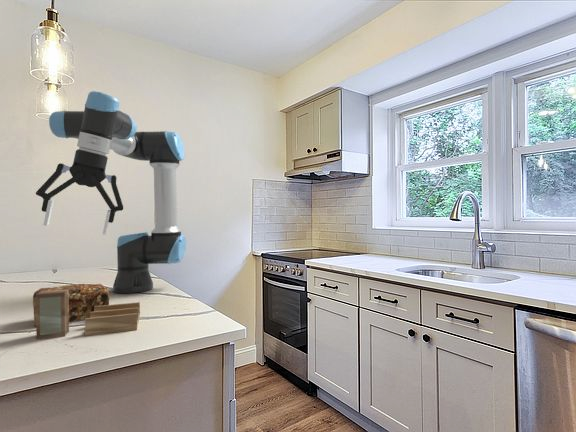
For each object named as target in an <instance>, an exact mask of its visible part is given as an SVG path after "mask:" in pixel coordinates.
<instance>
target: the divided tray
mask: <svg viewBox="0 0 576 432" xmlns="http://www.w3.org/2000/svg"><path fill="white" fill-rule="evenodd" d="M140 305H141V303H140V301H138V302H129V303H128V302H127V303H117V304H116V303H115V304H109V305H103V306H95V307H94V312H90V318H86V319H85V320H84V326H85V327H84V336H85V337H87V336H88V337H89V336H94V335H95V336H96V335H103V334H104V335H105V334H111V333H112V334H114V333H122V332H130V331H138V326H139V321H140V316H141V311H140V310H141V309H140V308H141V306H140Z"/></svg>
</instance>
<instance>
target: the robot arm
mask: <svg viewBox="0 0 576 432" xmlns="http://www.w3.org/2000/svg"><path fill="white" fill-rule="evenodd" d="M48 121H49V122H48V123H49V124H48V125H49V128H50V131H51V133H52V134H53V135H54V136H55V137H57V138H62V139H69V138H70V139H77V142H76V143H77V144H76V146H77V148H78V149H76V150H75V152H74V158H73V162H72V164H71V166H69V165H67V164H64V163H63V162H62V163H57V166H56V169H55V171H54V172H53V173H52V174H51V175H50V177H49V178H48V179H47V180H46V181H45V182H44V183H43V184H42V185H41V186H40V188H38V190H36V192H35V195H36V196H38V197H41V198H42V200H43V201H42V206H41V212H44V213H45V215H44V221H43V226H46V227H47V226H48V225H50V221H51V216H52V211H53V207H54V203H55V200H54V199H52V198H54V196H56V195H58V194H59V193H61V192H62V191H64V190H65V189H67V188H68V187H70V186H72V185H73V184H75V183H76V184H77V185H78V186H86V187H88V188H96V189H97V191H98V192H99V194H100V195H101V197H102V199H103V200H104V202H105V203H106V205H107V206H108V208H109V209H108V210H107V211H106V216H105V221H104V226H103V230H102V235H106V234H107V230H108V225H109V224H110V223H111V224H112V223H114V220H115V216H116V215H115V214H116V213H117V212H119V211H120V212H121V211H123V210H124V204H123V201H122V198H121V195H120V192H119V188H118V185H117V178H118V177H117V175H115V174H113V175H112V174H106V168H107V164H108V163H107V162H108V158H109V157H108V156H107V155H108V154H109V153H110V151H111V150H112V151H113V152H114V153H115V154H117V155H118V156H122V157H125V158H128V159H133V160H136V161H148V162H149V166H150V167H151V168H152V169H153V184H154V185H153V192H154V195H153V197H154V202H153V203H154V228H153V229H152V230H151V234H149V232H147V231H146V232H138V233H131V234H125V235H120V236H119V237H118V238H117V243H116V250H117V253H116V254H117V255H116V256H117V257H116V258H117V273H116V276H115V279H114V282H113V285H112V292H113V293H116V294H136V293H142V292H146V291H150V290H153V289H154V281H153V279H152V276H151V272H150V269H149V265H158V264H159V265H161V264H162V265H166V264H167V265H171V264H179V263H180V262H182V260H183V259H184V256H185V254H186V247H187V240H186V238H187V237H186V236H185V235H183V234H182V230H181V229H180V228H179V227H178V214H177V213H178V210H177V209H178V208H177V206H178V205H177V204H178V203H177V169H178V167H180V162H182V161H183V160H184V158H185V157H184V156H185V149H184V144H183V141H182V139H181V136H180V135H179V134H178V133H177V131H176V132H175V131H167V130H164V131H162V130H161V131H137V124H136V121H135V120H134V119H133V117H131V116H130V115H129V114H127V113H125V112H123V111H120V100H119V99H118V98H116V97H115V96H113V95H110V94H107V93H103V92H99V91H97V90H96V91H95V90H93V91H90V92H89V93H88V94H87V99H86V101H85V104H84V110H83V111H82V110H81V111H79V110H62V111H61V110H60V111H54V112H52V113H51V114H50V116H49V119H48ZM68 171H69V173H70V175H71V176H72V177H71V178H69V179H68V180H66V181H65V182H63V183H62V184H61V185H59V186H57V187H55V188H54V189H52V190H51V191H49V192H48V193H46V192H47V190H48V189H49V188H50V187H51V186H52V185H53V184H54V183H55V182H56V181H57V180H58V179H59V178H60V176H62V174H65V173H67V172H68ZM105 179H106V180H107V182H108V183H110V185H111V189H112V192H113V196H114V198H115V202H116V205H115V203H114V202H113V201H112V199H111V197H110V196H109V195H108V193H107V191H106V190H105V187H104V186H103V185H102V182H103V181H104V180H105Z"/></svg>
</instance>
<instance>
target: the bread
mask: <svg viewBox="0 0 576 432" xmlns="http://www.w3.org/2000/svg"><path fill="white" fill-rule="evenodd" d="M66 289H69V323H74V322H81V321H85V319H86V318H90V312H94V307H95V306H103V305H110V293H109V289H108V287H106V286H104V285H103V284H101V283H96V284H95V283H87V284H86V283H76V284H66V285H61V286H53V287H41V288H39V289H38V290H36V291H34V293H33V295H32V300H33V301H32V306H33V307H32V309H33V321H34V324H33V325H34V327H36V294H38V293H39V292H41V291H52V290H66Z"/></svg>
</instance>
